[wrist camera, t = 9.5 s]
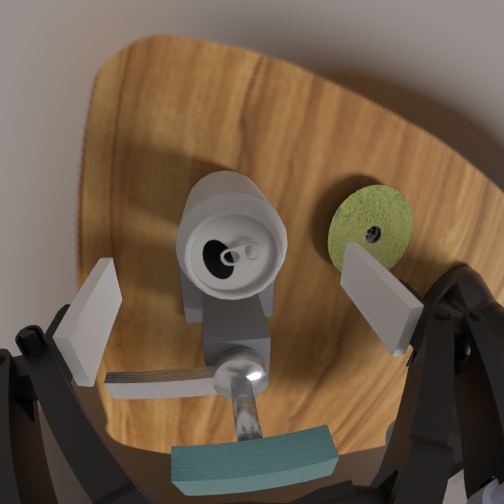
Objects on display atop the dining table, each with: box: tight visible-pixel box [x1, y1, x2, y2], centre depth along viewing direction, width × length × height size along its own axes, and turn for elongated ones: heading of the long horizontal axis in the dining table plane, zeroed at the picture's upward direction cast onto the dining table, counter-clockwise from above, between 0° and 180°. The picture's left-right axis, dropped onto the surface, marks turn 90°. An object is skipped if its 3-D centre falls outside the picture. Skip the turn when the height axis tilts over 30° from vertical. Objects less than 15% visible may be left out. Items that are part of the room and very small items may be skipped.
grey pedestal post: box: [178, 261, 274, 381], centre depth 27 cm, size 10×8×12 cm
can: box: [176, 170, 288, 300], centre depth 23 cm, size 8×8×12 cm
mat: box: [328, 185, 413, 273], centre depth 31 cm, size 11×11×2 cm
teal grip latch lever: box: [104, 348, 339, 495], centre depth 16 cm, size 4×15×10 cm, turn 95°
